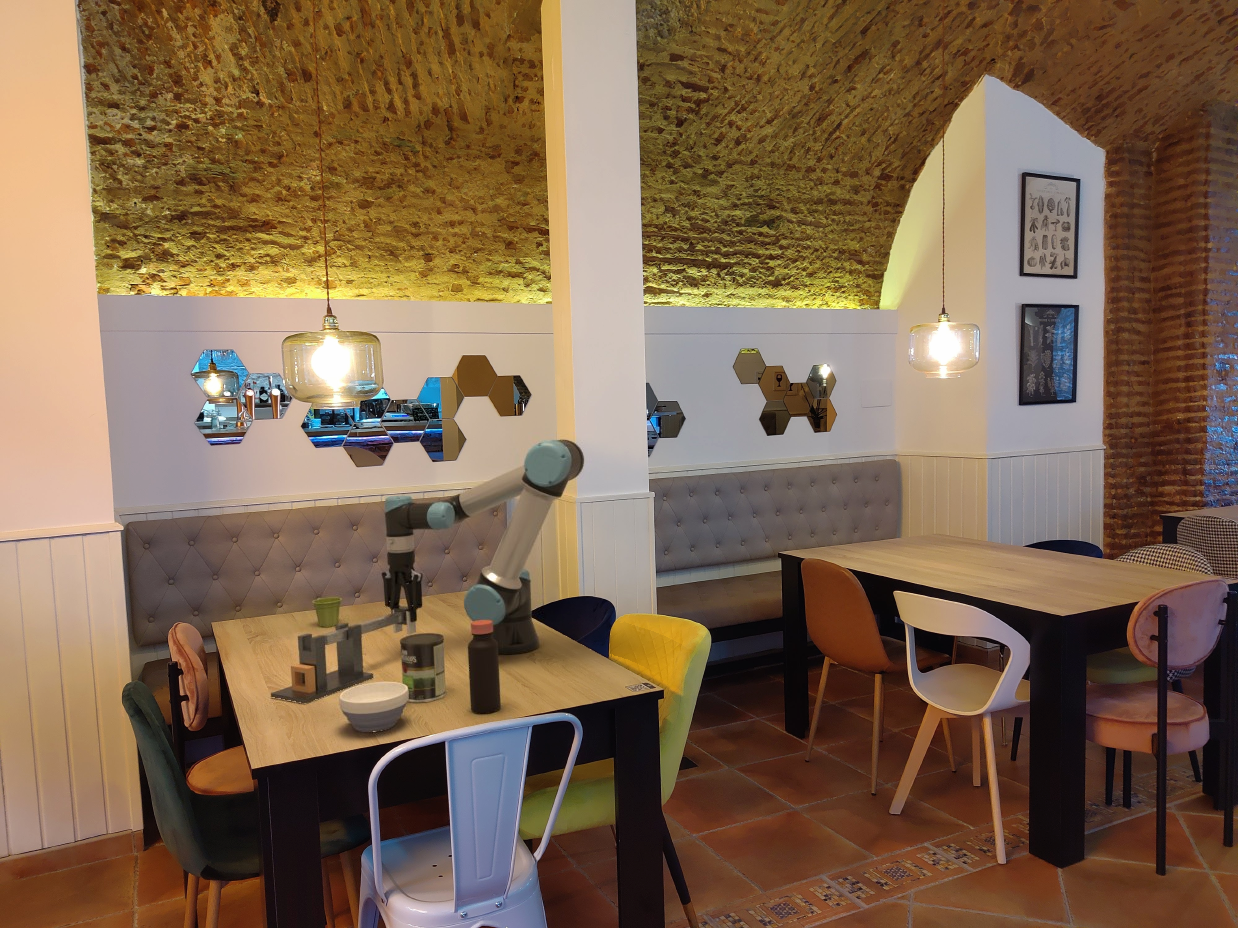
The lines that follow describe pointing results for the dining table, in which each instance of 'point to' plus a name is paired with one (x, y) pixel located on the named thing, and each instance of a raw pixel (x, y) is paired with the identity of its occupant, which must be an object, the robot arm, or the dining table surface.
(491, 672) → the bottle
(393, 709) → the bowl
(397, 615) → the shaft
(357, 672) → the stand
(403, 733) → the dining table surface
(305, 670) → the collar
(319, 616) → the plant pot
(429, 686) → the coffee can
